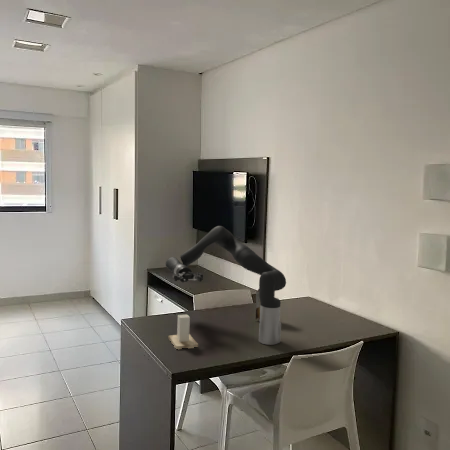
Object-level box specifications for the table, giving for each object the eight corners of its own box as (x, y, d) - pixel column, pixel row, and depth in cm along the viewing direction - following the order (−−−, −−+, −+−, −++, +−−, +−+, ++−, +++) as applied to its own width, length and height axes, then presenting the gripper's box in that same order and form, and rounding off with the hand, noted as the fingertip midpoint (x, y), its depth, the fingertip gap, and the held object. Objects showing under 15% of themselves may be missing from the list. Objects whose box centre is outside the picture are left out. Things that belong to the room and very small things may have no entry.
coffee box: (273, 319, 254) (275, 290, 252) (271, 323, 248) (273, 292, 246) (257, 317, 257) (258, 288, 255) (254, 320, 250) (256, 291, 249)
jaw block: (186, 337, 216) (187, 314, 215) (188, 341, 212) (189, 317, 211) (177, 338, 215) (177, 315, 214) (179, 341, 211) (180, 317, 210)
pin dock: (189, 336, 222) (189, 328, 222) (198, 347, 209) (198, 338, 209) (168, 338, 219) (168, 330, 218) (176, 349, 206) (176, 340, 205)
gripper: (169, 266, 237) (177, 272, 222) (196, 265, 242) (206, 271, 227) (168, 280, 238) (177, 288, 223) (196, 279, 243) (205, 287, 228)
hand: (192, 280), depth 225 cm, fingers open, 8 cm apart
